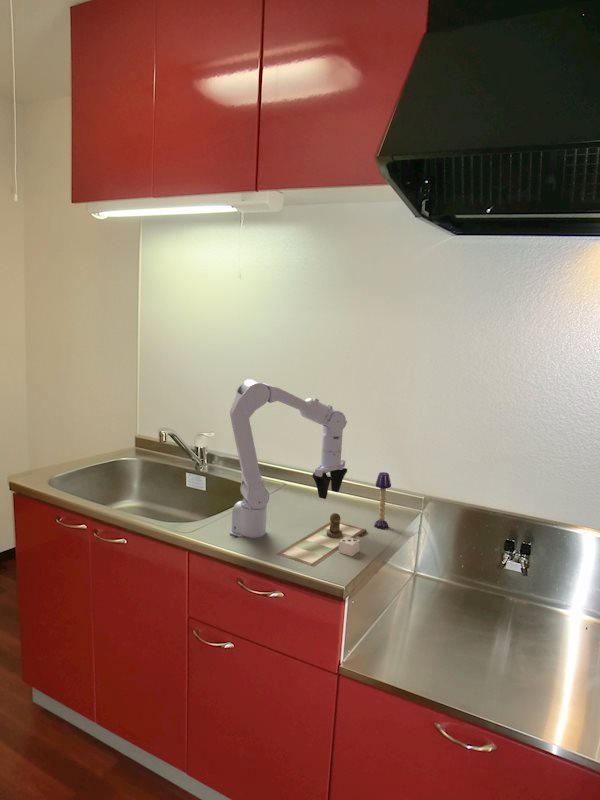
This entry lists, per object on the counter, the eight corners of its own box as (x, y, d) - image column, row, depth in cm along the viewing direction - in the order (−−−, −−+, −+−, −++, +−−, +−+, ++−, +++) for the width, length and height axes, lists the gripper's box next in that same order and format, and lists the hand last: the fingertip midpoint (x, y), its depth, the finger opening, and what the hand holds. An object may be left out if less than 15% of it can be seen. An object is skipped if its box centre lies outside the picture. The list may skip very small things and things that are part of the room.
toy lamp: (370, 526, 158) (374, 473, 156) (375, 521, 162) (379, 470, 160) (385, 530, 156) (389, 476, 154) (390, 525, 160) (394, 472, 158)
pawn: (323, 535, 148) (324, 513, 147) (331, 530, 152) (332, 509, 151) (337, 539, 146) (338, 517, 145) (344, 534, 150) (345, 513, 149)
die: (338, 555, 138) (339, 540, 137) (345, 550, 141) (346, 536, 141) (351, 559, 136) (352, 544, 135) (358, 554, 139) (359, 539, 139)
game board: (276, 556, 135) (276, 553, 135) (332, 522, 160) (332, 520, 160) (313, 569, 129) (313, 566, 129) (366, 532, 154) (366, 529, 154)
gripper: (331, 457, 144) (328, 504, 146) (355, 447, 156) (352, 491, 158) (309, 452, 148) (307, 498, 150) (334, 444, 160) (332, 486, 162)
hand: (329, 494), depth 154 cm, fingers open, 7 cm apart
